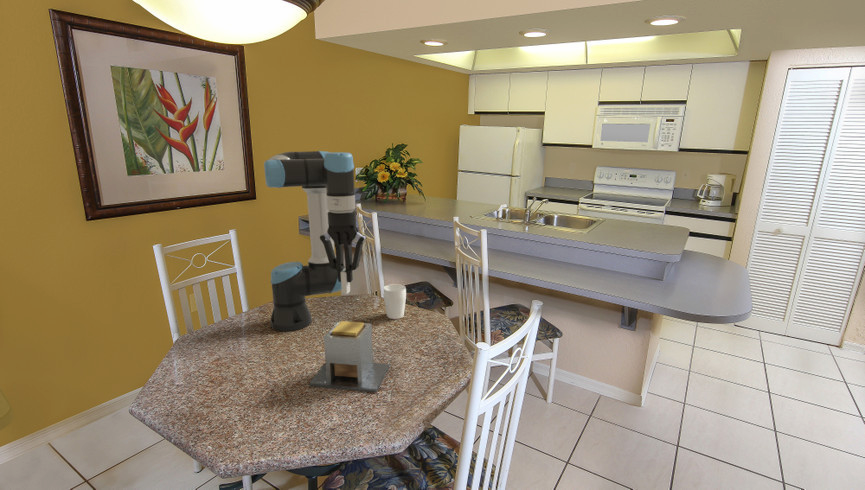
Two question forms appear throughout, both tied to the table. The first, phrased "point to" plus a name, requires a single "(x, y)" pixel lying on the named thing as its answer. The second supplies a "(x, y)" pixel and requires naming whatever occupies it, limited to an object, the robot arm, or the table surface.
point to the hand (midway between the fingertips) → (346, 292)
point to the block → (350, 331)
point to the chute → (350, 362)
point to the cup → (395, 300)
